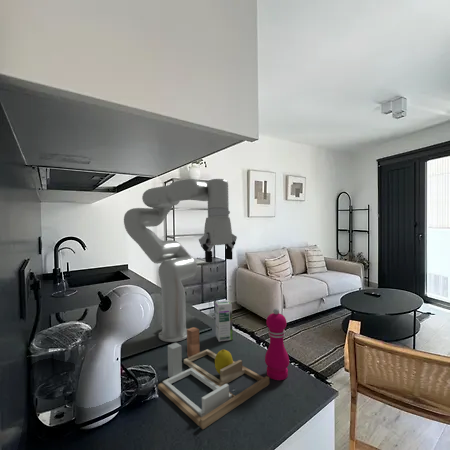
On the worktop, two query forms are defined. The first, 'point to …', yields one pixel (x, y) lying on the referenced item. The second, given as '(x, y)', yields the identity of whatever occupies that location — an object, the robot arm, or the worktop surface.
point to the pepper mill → (276, 347)
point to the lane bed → (223, 408)
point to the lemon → (222, 360)
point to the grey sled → (175, 374)
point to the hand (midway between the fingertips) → (219, 260)
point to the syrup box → (223, 320)
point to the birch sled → (194, 353)
